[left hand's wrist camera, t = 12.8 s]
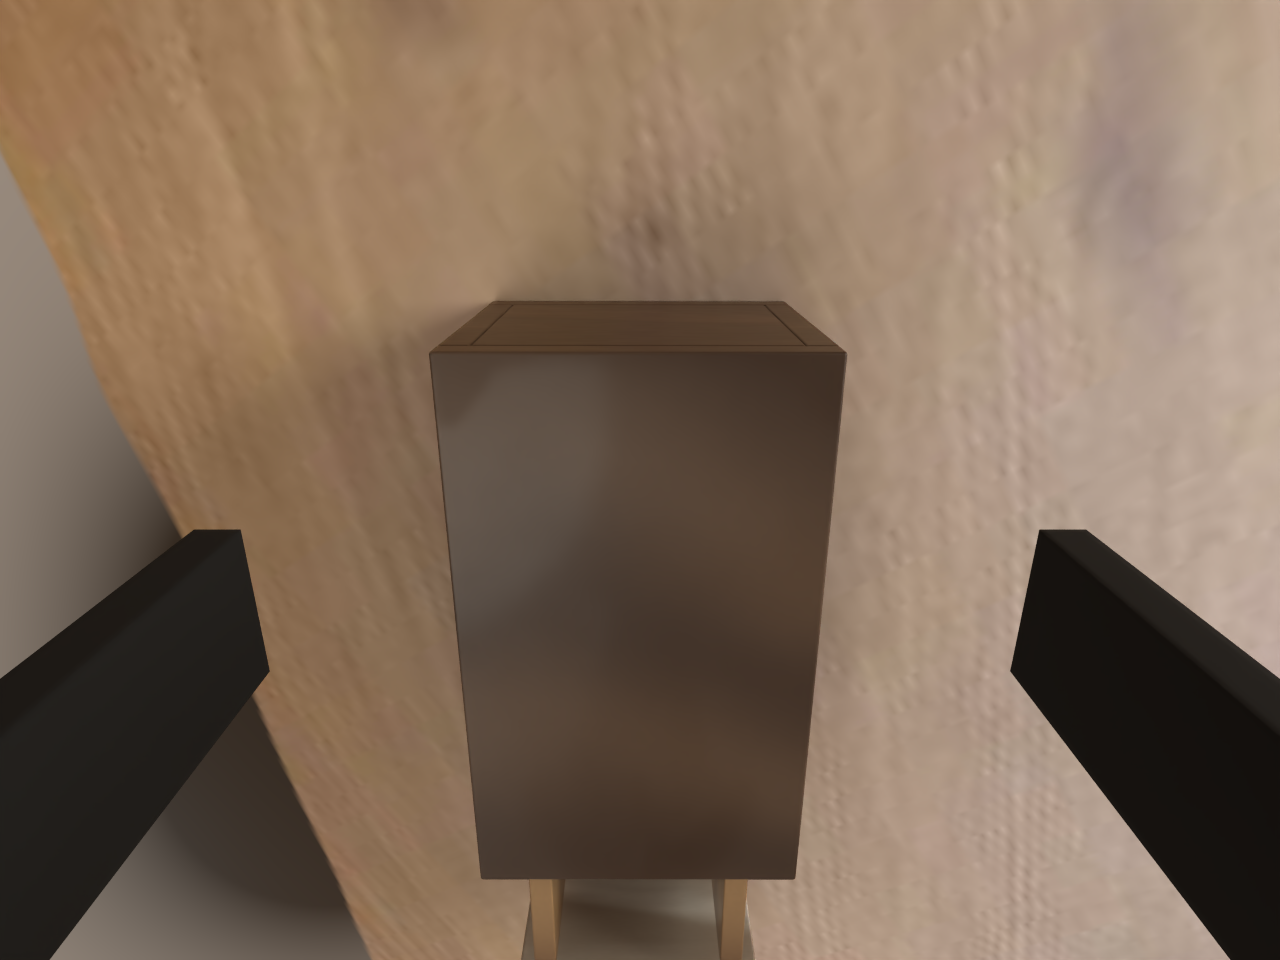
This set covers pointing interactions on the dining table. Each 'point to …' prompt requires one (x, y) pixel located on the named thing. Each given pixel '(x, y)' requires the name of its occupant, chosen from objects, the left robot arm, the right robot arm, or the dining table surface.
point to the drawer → (638, 920)
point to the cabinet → (638, 579)
